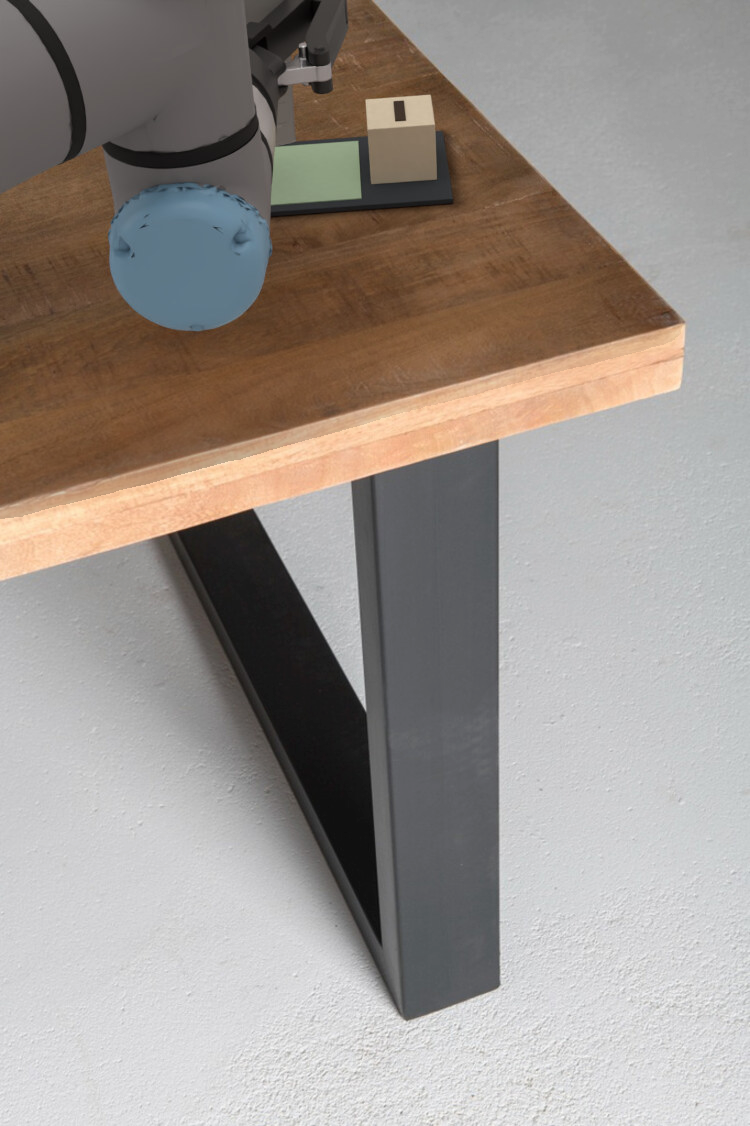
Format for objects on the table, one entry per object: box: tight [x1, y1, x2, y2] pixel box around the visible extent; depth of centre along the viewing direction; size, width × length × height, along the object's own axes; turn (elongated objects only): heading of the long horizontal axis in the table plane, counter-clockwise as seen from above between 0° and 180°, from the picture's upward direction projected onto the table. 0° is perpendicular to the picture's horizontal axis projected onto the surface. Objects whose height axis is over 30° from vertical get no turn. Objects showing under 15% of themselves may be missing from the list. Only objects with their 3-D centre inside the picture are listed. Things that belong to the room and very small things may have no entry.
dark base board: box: [270, 94, 454, 217], centre depth 108 cm, size 22×11×5 cm, turn 92°
